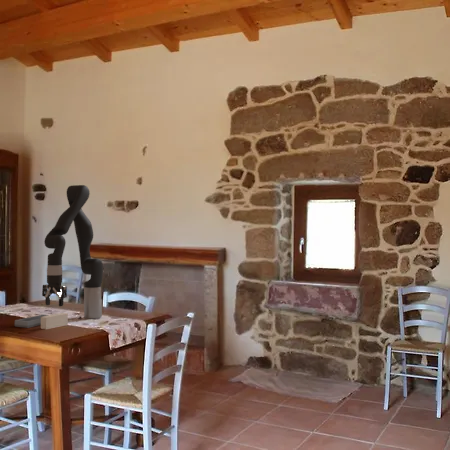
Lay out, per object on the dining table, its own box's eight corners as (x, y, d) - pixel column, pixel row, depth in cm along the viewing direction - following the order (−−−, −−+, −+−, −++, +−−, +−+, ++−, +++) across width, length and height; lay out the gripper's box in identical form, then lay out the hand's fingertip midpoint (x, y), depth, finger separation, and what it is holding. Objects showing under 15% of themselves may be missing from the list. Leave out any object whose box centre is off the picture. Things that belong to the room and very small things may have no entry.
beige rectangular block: (62, 324, 278) (62, 312, 278) (67, 325, 276) (67, 313, 276) (40, 328, 266) (40, 316, 266) (46, 329, 264) (46, 317, 264)
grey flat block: (42, 320, 288) (42, 314, 288) (54, 321, 285) (54, 315, 285) (14, 326, 271) (14, 320, 271) (27, 327, 267) (27, 321, 267)
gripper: (70, 274, 271) (70, 305, 271) (49, 272, 277) (48, 303, 277) (60, 275, 265) (59, 307, 264) (38, 273, 271) (38, 305, 271)
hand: (54, 305), depth 271 cm, fingers open, 8 cm apart
